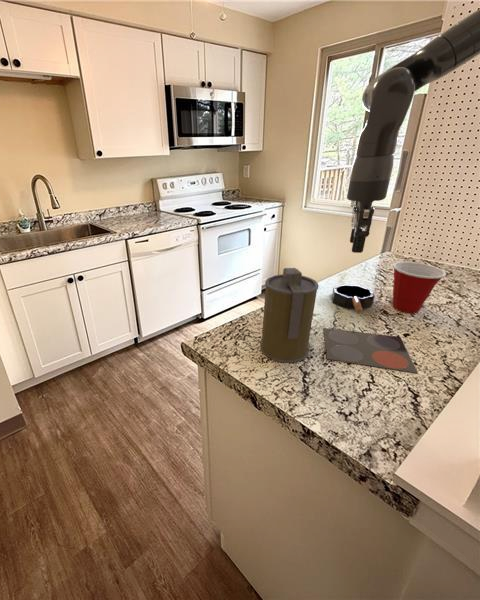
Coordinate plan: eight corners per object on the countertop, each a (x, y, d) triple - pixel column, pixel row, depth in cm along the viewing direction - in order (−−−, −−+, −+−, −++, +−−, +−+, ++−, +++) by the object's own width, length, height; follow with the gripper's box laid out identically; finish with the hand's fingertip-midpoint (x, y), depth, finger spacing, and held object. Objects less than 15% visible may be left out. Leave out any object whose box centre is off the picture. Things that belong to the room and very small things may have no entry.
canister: (256, 337, 79) (262, 264, 71) (300, 337, 77) (311, 262, 69) (264, 363, 70) (272, 282, 61) (314, 364, 68) (329, 280, 59)
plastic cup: (433, 321, 79) (449, 277, 73) (381, 312, 85) (392, 271, 80) (431, 304, 86) (445, 263, 81) (383, 297, 92) (393, 258, 87)
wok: (367, 296, 94) (370, 284, 92) (379, 324, 79) (383, 311, 78) (330, 293, 98) (333, 282, 96) (335, 320, 83) (338, 306, 82)
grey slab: (399, 337, 74) (400, 336, 74) (417, 373, 63) (417, 372, 62) (323, 328, 80) (323, 327, 80) (327, 359, 69) (327, 358, 69)
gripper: (395, 180, 63) (377, 257, 69) (385, 173, 74) (370, 240, 81) (351, 182, 66) (338, 255, 73) (348, 175, 77) (337, 239, 84)
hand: (355, 247), depth 77 cm, fingers open, 8 cm apart
